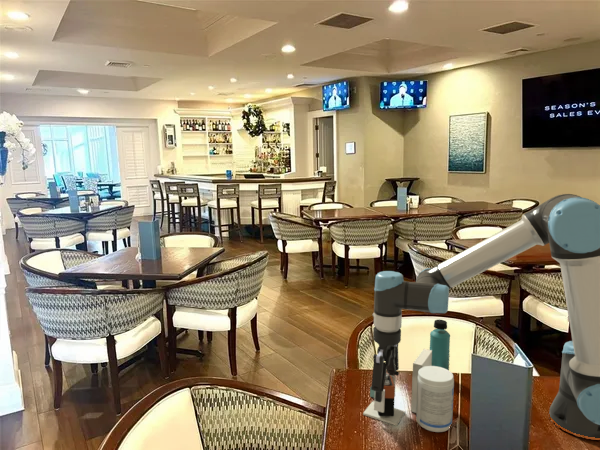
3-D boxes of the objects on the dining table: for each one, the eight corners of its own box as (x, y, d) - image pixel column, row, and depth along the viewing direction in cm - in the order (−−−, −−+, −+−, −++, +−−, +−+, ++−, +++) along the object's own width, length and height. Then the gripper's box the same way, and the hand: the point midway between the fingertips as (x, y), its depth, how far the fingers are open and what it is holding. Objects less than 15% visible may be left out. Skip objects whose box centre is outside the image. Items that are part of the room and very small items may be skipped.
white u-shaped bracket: (429, 396, 137) (432, 350, 134) (419, 413, 127) (421, 365, 125) (421, 393, 138) (423, 348, 136) (410, 411, 129) (413, 363, 126)
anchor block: (386, 387, 142) (387, 378, 142) (377, 398, 135) (378, 389, 135) (379, 385, 143) (379, 376, 143) (370, 396, 137) (370, 387, 136)
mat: (405, 413, 128) (405, 411, 128) (397, 425, 122) (397, 423, 122) (372, 403, 133) (372, 401, 133) (363, 414, 127) (363, 412, 127)
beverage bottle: (451, 383, 144) (454, 324, 141) (430, 383, 145) (433, 324, 141) (445, 373, 151) (448, 317, 148) (425, 373, 151) (428, 317, 148)
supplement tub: (459, 430, 120) (462, 379, 118) (427, 436, 118) (430, 384, 115) (438, 410, 129) (441, 363, 127) (409, 415, 127) (411, 367, 124)
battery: (390, 403, 131) (391, 371, 129) (394, 417, 124) (395, 383, 122) (375, 403, 131) (376, 371, 129) (378, 416, 124) (379, 383, 123)
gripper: (387, 313, 134) (385, 383, 138) (359, 337, 117) (357, 417, 120) (412, 318, 130) (409, 390, 134) (387, 344, 113) (384, 426, 116)
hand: (384, 403), depth 127 cm, fingers open, 8 cm apart
